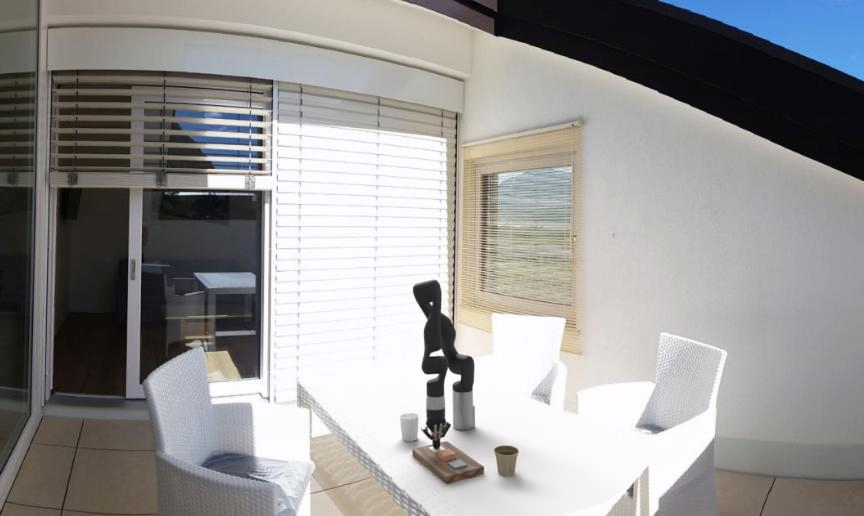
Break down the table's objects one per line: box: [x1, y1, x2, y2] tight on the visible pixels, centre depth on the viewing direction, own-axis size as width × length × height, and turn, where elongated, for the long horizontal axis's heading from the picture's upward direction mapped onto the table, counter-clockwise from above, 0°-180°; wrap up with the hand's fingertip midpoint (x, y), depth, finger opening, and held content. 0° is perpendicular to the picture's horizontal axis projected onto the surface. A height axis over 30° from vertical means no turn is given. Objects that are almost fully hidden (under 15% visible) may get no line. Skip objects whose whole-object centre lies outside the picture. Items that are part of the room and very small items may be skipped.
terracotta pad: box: [438, 449, 456, 462], centre depth 217 cm, size 5×5×3 cm
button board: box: [411, 440, 485, 486], centre depth 217 cm, size 16×28×3 cm, turn 28°
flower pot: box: [493, 444, 520, 477], centre depth 209 cm, size 9×9×9 cm
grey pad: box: [448, 459, 467, 470], centre depth 210 cm, size 5×5×3 cm
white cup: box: [399, 412, 419, 442], centre depth 244 cm, size 8×8×10 cm
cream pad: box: [428, 446, 446, 454], centre depth 224 cm, size 5×5×3 cm
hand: (436, 448), depth 224 cm, fingers closed
